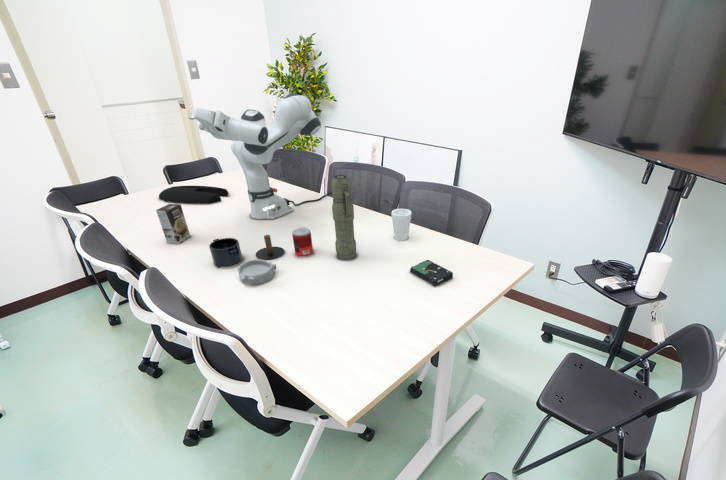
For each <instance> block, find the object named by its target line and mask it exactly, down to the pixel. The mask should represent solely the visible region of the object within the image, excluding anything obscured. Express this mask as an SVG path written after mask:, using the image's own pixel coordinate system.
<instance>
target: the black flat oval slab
mask: <svg viewBox="0 0 726 480" xmlns="http://www.w3.org/2000/svg"><path fill="white" fill-rule="evenodd" d="M228 196H229V191H228V190H227V188H223V187H217V186H209V185H176V186H171V187H168V188H165V189H162V191H161V192H160V193H159V194H158V198H159V199H160V200H162V201H164V202H166V203H172V204H185V205H213V204H216V203H219V202H222V198H223V197H225V198H227V197H228ZM221 197H222V198H221Z"/></svg>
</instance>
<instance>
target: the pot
mask: <svg viewBox="0 0 726 480" xmlns="http://www.w3.org/2000/svg"><path fill="white" fill-rule="evenodd" d="M208 247H209V251H210V254H211V257H212V261H213V265H214V266H215V267H216V268H219V269H220V268H228V267H229V268H230V267H234V266H236V265H238V264H240V263H241V262H242V261H243V260H244V258H243V254H242V251H241V246H240V242H239V240H238V239H236V238H234V237H225V238H215V239H213V240H212V241H211V242H210V243H209V246H208Z"/></svg>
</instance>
